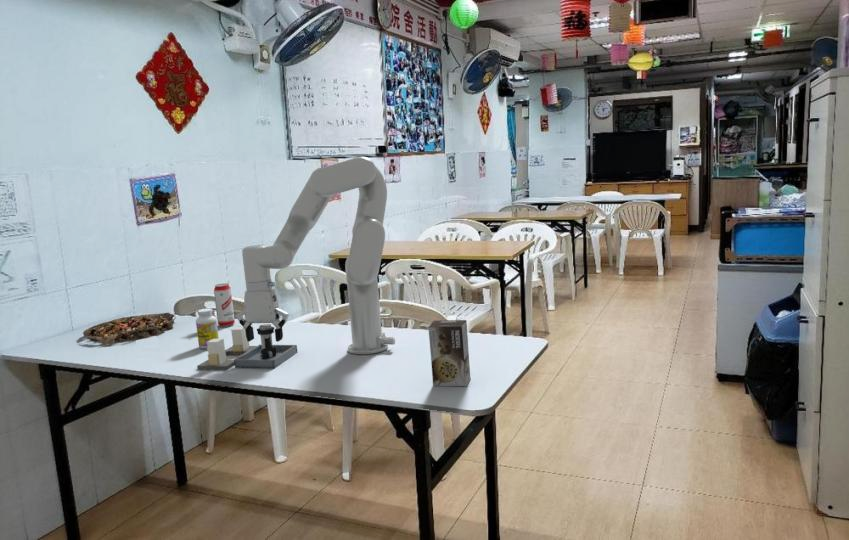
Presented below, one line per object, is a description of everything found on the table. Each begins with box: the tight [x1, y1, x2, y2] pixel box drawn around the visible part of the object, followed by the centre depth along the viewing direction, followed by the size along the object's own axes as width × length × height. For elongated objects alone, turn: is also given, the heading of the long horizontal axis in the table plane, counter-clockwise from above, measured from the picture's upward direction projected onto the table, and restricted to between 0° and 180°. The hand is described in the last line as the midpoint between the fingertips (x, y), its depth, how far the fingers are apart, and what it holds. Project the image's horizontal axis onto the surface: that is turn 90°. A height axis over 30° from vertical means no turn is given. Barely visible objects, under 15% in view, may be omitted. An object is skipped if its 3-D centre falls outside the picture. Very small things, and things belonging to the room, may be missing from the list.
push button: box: [256, 323, 276, 359], centre depth 202 cm, size 7×5×10 cm
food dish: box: [82, 312, 176, 346], centre depth 252 cm, size 35×33×8 cm
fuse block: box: [196, 326, 258, 371], centre depth 205 cm, size 10×21×8 cm, turn 166°
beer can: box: [213, 283, 236, 328], centre depth 251 cm, size 6×6×16 cm
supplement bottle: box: [195, 307, 220, 350], centre depth 222 cm, size 7×7×13 cm
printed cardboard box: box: [427, 319, 471, 387], centre depth 169 cm, size 9×6×16 cm
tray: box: [234, 344, 298, 370], centre depth 202 cm, size 13×16×2 cm
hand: (264, 340), depth 201 cm, fingers open, 9 cm apart
